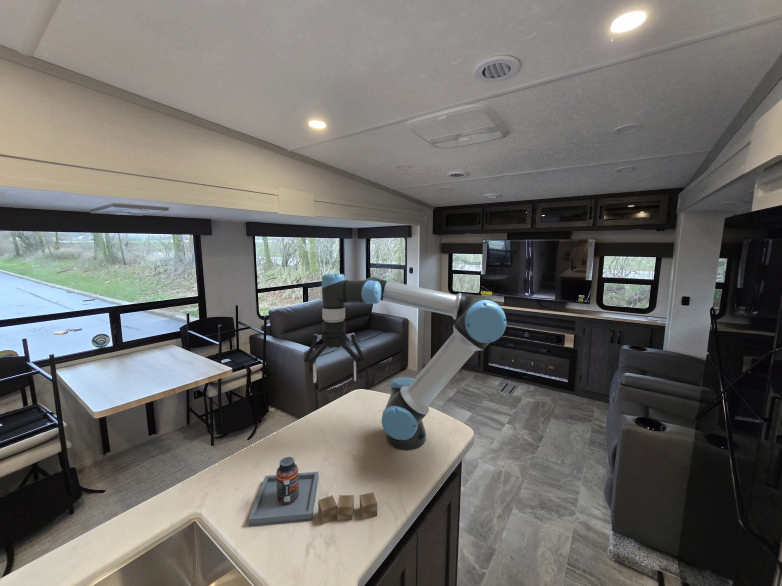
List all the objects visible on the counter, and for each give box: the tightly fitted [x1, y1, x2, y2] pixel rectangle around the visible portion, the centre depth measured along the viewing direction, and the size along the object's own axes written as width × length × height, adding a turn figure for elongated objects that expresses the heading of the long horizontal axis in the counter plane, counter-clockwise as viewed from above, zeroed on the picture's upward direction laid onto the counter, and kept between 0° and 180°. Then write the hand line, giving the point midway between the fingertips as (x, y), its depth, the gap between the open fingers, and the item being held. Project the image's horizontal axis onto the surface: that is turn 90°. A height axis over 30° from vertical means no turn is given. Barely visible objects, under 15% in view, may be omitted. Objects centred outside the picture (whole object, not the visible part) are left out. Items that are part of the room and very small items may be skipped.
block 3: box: [359, 491, 378, 520], centre depth 85 cm, size 4×4×4 cm
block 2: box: [336, 494, 355, 521], centre depth 84 cm, size 4×4×4 cm
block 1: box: [317, 494, 338, 525], centre depth 83 cm, size 4×4×4 cm
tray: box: [247, 471, 320, 527], centre depth 89 cm, size 16×16×2 cm
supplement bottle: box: [275, 456, 299, 504], centre depth 88 cm, size 6×6×11 cm
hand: (335, 380), depth 107 cm, fingers open, 13 cm apart
